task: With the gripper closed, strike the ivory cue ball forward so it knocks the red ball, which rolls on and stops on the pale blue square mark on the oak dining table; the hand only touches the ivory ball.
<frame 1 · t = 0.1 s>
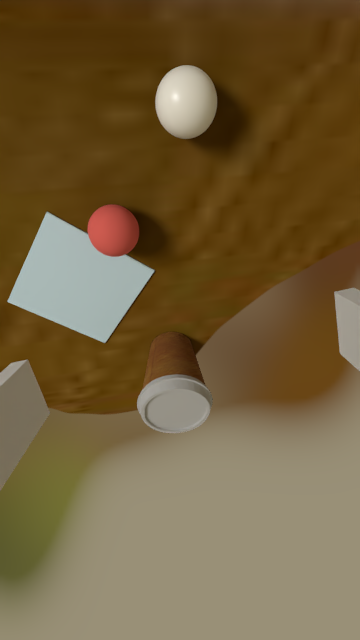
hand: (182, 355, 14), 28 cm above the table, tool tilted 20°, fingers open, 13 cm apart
disposable coffee cup: (171, 346, 51), on the table
cue ball: (186, 103, 30), on the table
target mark: (80, 285, 43), on the table
red ball: (113, 231, 36), on the table
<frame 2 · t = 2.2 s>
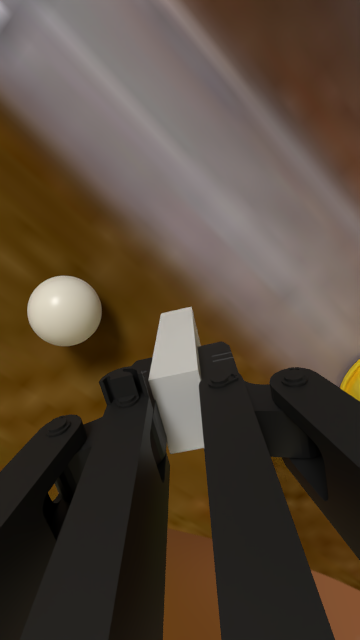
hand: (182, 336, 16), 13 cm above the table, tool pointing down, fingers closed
cue ball: (65, 311, 26), on the table
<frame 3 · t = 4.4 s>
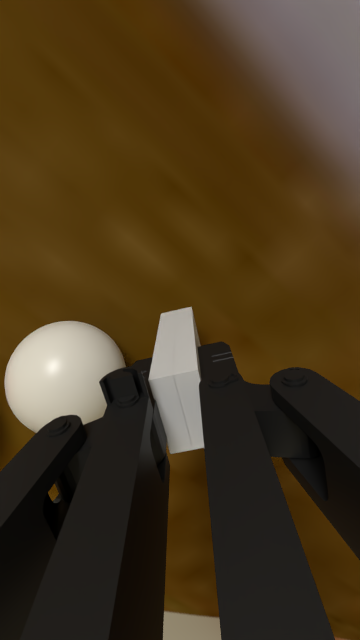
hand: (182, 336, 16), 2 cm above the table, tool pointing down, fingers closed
cue ball: (68, 377, 16), on the table
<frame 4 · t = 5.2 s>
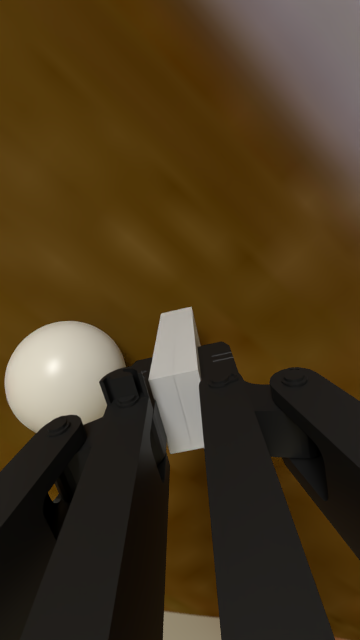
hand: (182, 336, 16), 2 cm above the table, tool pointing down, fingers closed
cue ball: (69, 377, 16), on the table
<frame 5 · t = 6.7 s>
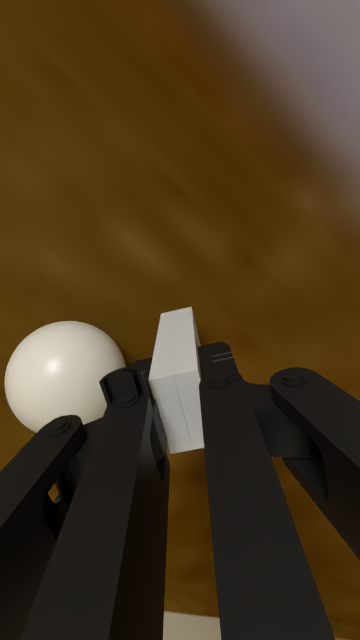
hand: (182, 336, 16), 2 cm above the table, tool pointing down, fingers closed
cue ball: (69, 377, 16), on the table
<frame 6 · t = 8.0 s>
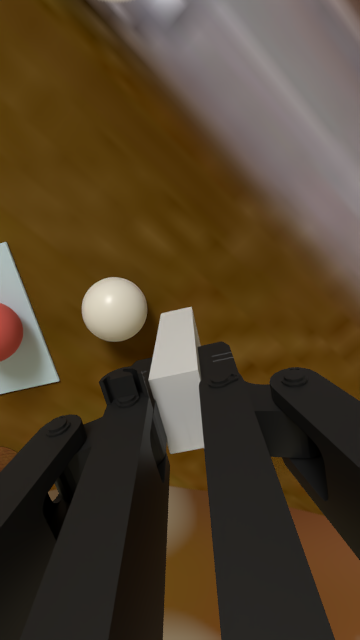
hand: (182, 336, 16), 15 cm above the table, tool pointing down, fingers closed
disposable coffee cup: (2, 468, 37), on the table
cue ball: (115, 309, 29), on the table
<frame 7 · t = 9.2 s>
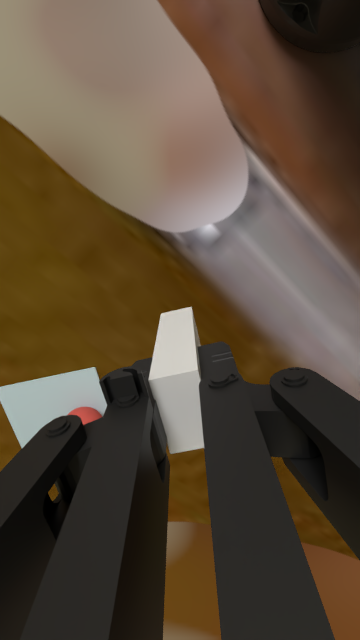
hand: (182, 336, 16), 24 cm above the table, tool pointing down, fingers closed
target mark: (62, 421, 46), on the table
red ball: (83, 428, 43), on the table
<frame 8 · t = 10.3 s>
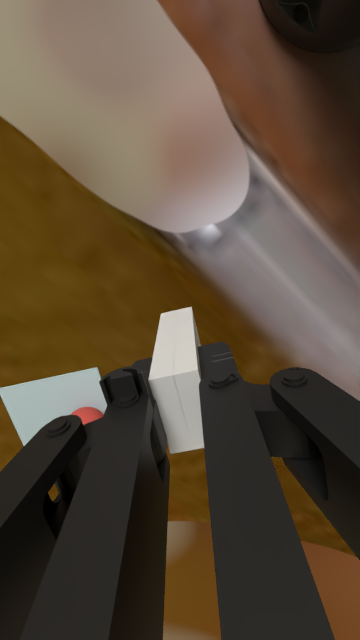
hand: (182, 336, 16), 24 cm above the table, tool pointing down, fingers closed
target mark: (64, 421, 47), on the table
red ball: (86, 428, 44), on the table
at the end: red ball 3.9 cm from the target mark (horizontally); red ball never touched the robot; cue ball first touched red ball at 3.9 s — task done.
